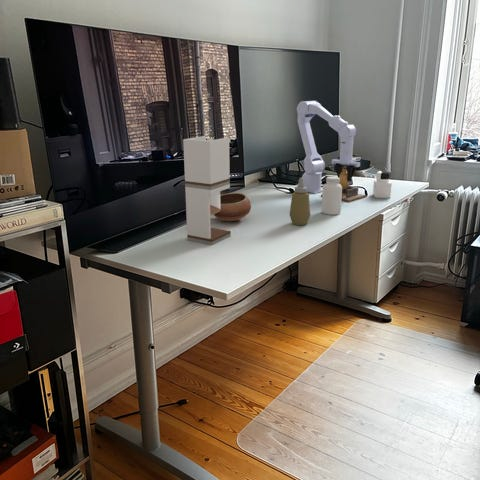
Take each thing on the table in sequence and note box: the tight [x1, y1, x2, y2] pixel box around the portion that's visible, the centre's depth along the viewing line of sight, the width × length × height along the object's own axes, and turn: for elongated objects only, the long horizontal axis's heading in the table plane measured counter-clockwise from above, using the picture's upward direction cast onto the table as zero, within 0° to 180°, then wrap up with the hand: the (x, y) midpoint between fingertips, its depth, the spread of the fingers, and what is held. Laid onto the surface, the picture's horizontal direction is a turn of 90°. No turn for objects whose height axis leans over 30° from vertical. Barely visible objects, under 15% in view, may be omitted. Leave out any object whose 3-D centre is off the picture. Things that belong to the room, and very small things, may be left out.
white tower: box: [182, 135, 231, 246], centre depth 168 cm, size 11×11×35 cm
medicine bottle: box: [372, 170, 392, 199], centre depth 232 cm, size 7×7×12 cm
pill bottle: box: [321, 176, 342, 216], centre depth 203 cm, size 8×8×15 cm
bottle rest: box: [320, 185, 367, 203], centre depth 232 cm, size 16×14×4 cm
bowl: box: [212, 192, 252, 222], centre depth 194 cm, size 16×16×10 cm
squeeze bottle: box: [289, 177, 311, 226], centre depth 187 cm, size 8×8×18 cm
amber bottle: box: [338, 165, 350, 189], centre depth 229 cm, size 5×5×10 cm
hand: (344, 180), depth 230 cm, fingers closed on amber bottle, 5 cm apart
